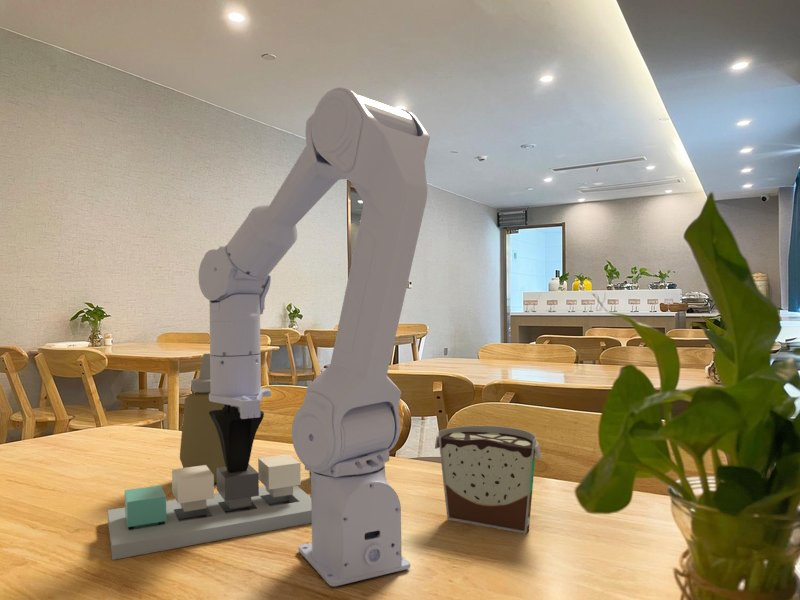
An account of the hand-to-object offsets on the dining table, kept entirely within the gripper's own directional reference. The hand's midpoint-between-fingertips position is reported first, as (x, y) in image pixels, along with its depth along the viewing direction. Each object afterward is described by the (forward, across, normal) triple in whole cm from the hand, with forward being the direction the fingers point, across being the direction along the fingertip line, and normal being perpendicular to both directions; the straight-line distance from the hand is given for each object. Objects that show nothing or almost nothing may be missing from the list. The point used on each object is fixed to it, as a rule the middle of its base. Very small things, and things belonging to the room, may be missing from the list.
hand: (236, 470), depth 71 cm
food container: (+6, -15, -26) cm, 31 cm away
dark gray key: (+4, 0, 0) cm, 4 cm away
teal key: (+5, 0, +10) cm, 11 cm away
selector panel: (+5, 0, +2) cm, 6 cm away
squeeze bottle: (+6, +18, 0) cm, 19 cm away
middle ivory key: (+3, 0, +5) cm, 6 cm away
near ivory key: (+3, 0, -5) cm, 6 cm away
